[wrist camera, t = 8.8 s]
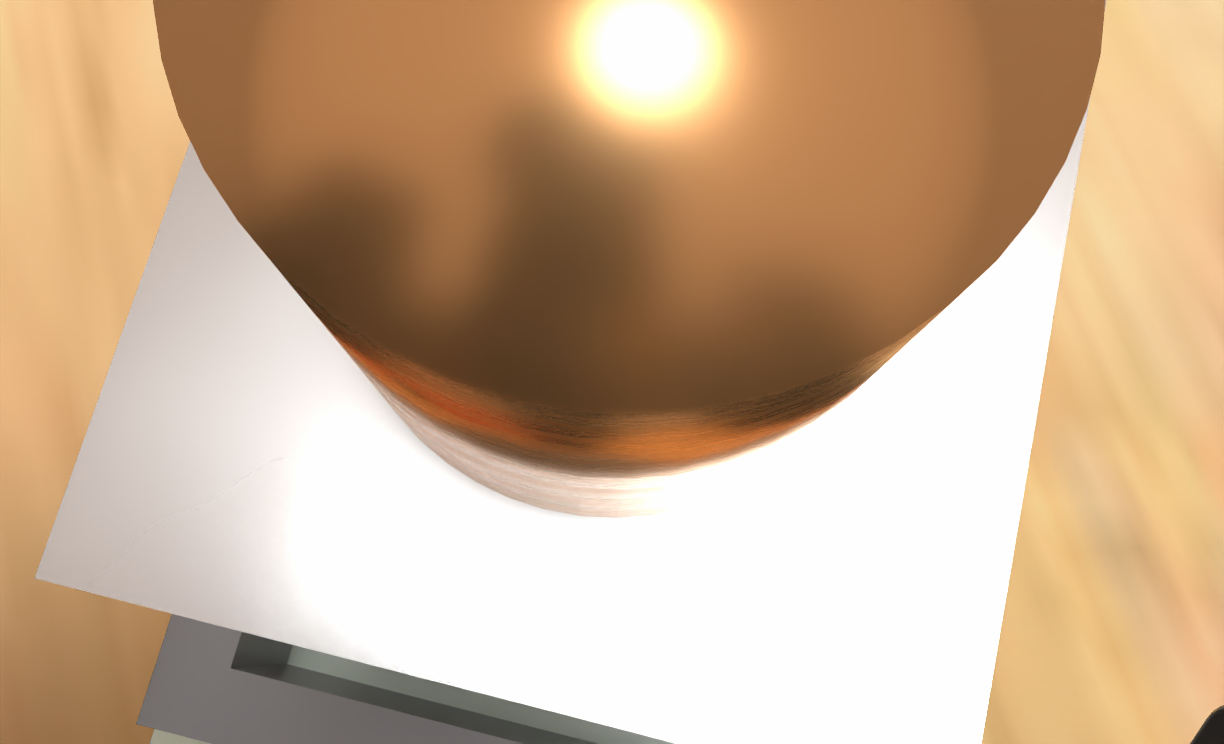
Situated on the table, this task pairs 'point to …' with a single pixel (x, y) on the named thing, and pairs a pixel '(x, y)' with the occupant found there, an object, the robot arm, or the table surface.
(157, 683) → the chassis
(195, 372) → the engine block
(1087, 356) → the table surface
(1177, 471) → the table surface
